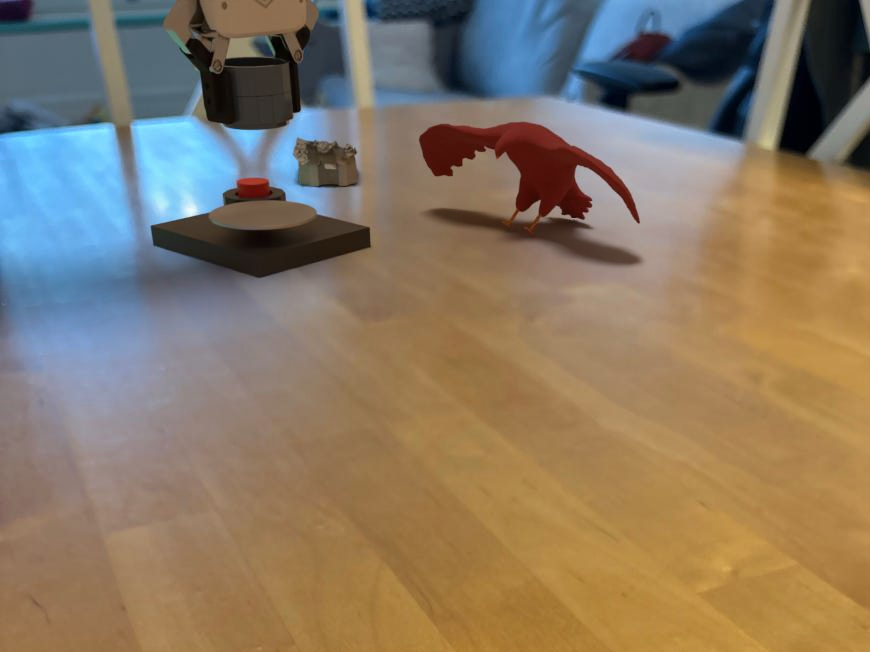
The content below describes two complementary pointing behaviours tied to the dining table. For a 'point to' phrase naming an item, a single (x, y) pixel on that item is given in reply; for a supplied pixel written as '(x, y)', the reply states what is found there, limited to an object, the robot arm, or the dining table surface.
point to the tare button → (253, 187)
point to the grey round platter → (262, 215)
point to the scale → (260, 240)
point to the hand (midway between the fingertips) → (254, 114)
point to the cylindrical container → (260, 92)
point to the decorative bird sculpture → (524, 164)
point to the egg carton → (325, 163)
